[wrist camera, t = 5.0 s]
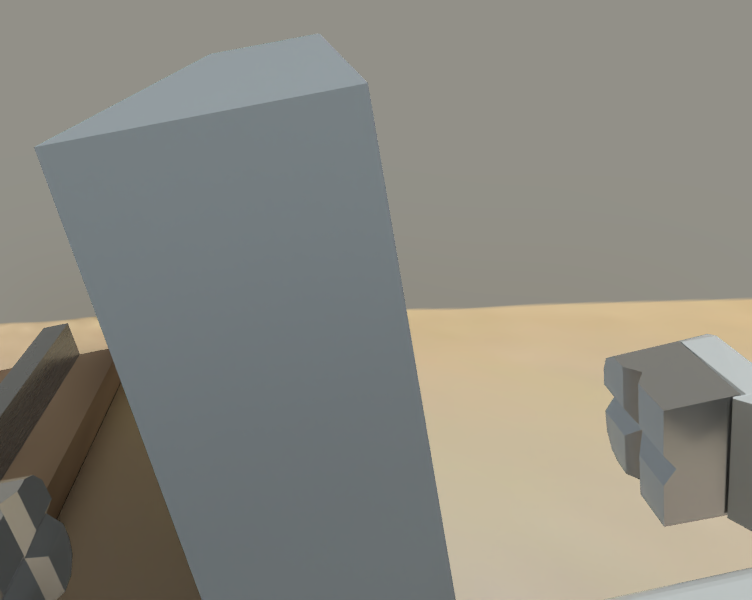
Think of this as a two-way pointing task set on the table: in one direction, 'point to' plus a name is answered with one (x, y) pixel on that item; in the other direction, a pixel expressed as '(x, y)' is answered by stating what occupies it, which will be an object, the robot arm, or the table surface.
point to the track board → (53, 410)
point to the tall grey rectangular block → (261, 323)
